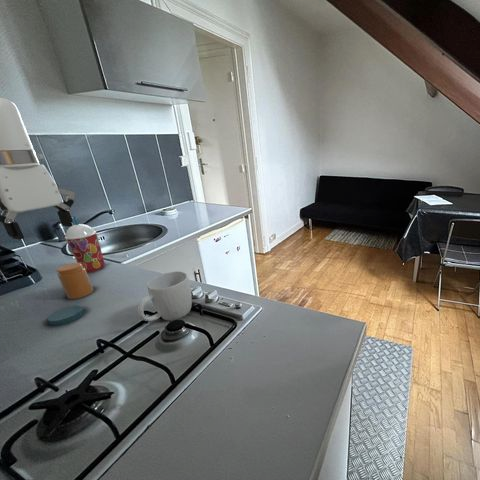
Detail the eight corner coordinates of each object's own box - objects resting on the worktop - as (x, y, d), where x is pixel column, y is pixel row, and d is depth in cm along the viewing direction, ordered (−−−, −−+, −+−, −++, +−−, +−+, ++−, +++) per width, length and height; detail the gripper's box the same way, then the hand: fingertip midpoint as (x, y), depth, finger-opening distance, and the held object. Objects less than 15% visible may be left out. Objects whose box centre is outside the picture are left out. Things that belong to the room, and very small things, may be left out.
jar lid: (73, 324, 65) (70, 319, 64) (43, 328, 64) (40, 322, 63) (90, 309, 71) (88, 303, 71) (63, 312, 70) (60, 307, 70)
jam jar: (63, 298, 77) (50, 270, 73) (85, 288, 82) (74, 261, 79) (76, 301, 75) (64, 272, 72) (98, 290, 80) (88, 263, 77)
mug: (182, 300, 74) (173, 268, 70) (202, 308, 70) (195, 275, 66) (134, 326, 64) (121, 291, 60) (155, 338, 59) (143, 301, 56)
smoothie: (106, 262, 100) (88, 212, 93) (110, 269, 95) (91, 216, 88) (78, 270, 95) (57, 217, 88) (80, 277, 89) (57, 221, 82)
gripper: (50, 157, 67) (75, 221, 73) (-57, 163, 52) (-15, 243, 58) (69, 156, 65) (93, 222, 71) (-37, 162, 49) (5, 246, 55)
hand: (45, 231), depth 64 cm, fingers open, 9 cm apart
